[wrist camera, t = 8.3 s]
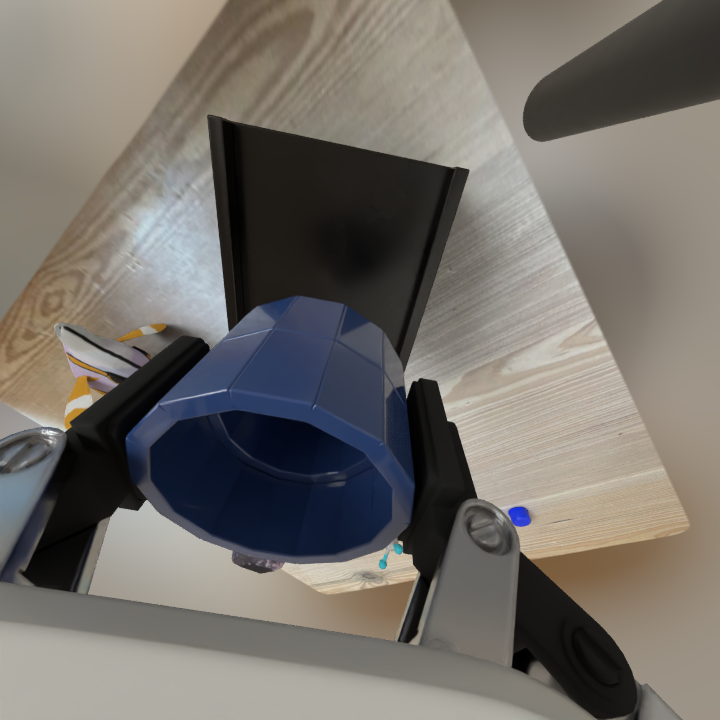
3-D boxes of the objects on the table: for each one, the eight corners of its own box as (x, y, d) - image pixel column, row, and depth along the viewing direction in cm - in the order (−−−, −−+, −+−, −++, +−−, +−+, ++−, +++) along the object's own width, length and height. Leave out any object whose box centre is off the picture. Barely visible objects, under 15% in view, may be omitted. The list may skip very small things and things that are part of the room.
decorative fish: (-94, 370, 17) (152, 458, 20) (71, 250, 24) (239, 329, 26) (66, 429, 34) (189, 473, 36) (138, 349, 40) (238, 392, 43)
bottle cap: (508, 517, 46) (512, 528, 45) (507, 507, 45) (511, 518, 43) (527, 516, 46) (532, 526, 44) (527, 506, 44) (532, 517, 43)
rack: (264, 135, 21) (206, 113, 14) (442, 173, 22) (470, 169, 15) (266, 305, 29) (229, 345, 22) (398, 331, 29) (402, 377, 22)
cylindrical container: (222, 274, 9) (71, 361, 5) (425, 312, 9) (462, 430, 5) (237, 418, 13) (160, 543, 8) (383, 443, 13) (382, 578, 8)
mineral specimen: (257, 538, 53) (225, 589, 43) (250, 488, 52) (215, 530, 42) (306, 541, 52) (284, 594, 42) (300, 490, 50) (276, 533, 40)
